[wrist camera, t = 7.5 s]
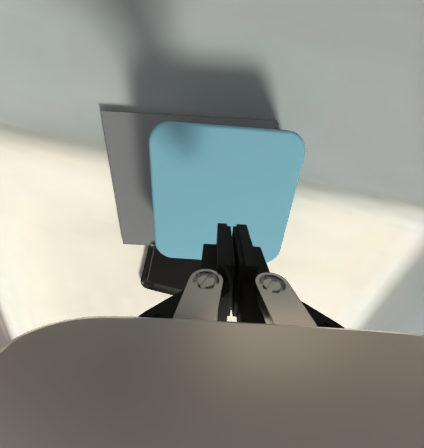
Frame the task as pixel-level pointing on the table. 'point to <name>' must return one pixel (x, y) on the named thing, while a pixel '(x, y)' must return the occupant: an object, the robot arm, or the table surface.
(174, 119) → the mat
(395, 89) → the table surface
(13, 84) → the table surface
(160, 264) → the phone
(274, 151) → the data package
